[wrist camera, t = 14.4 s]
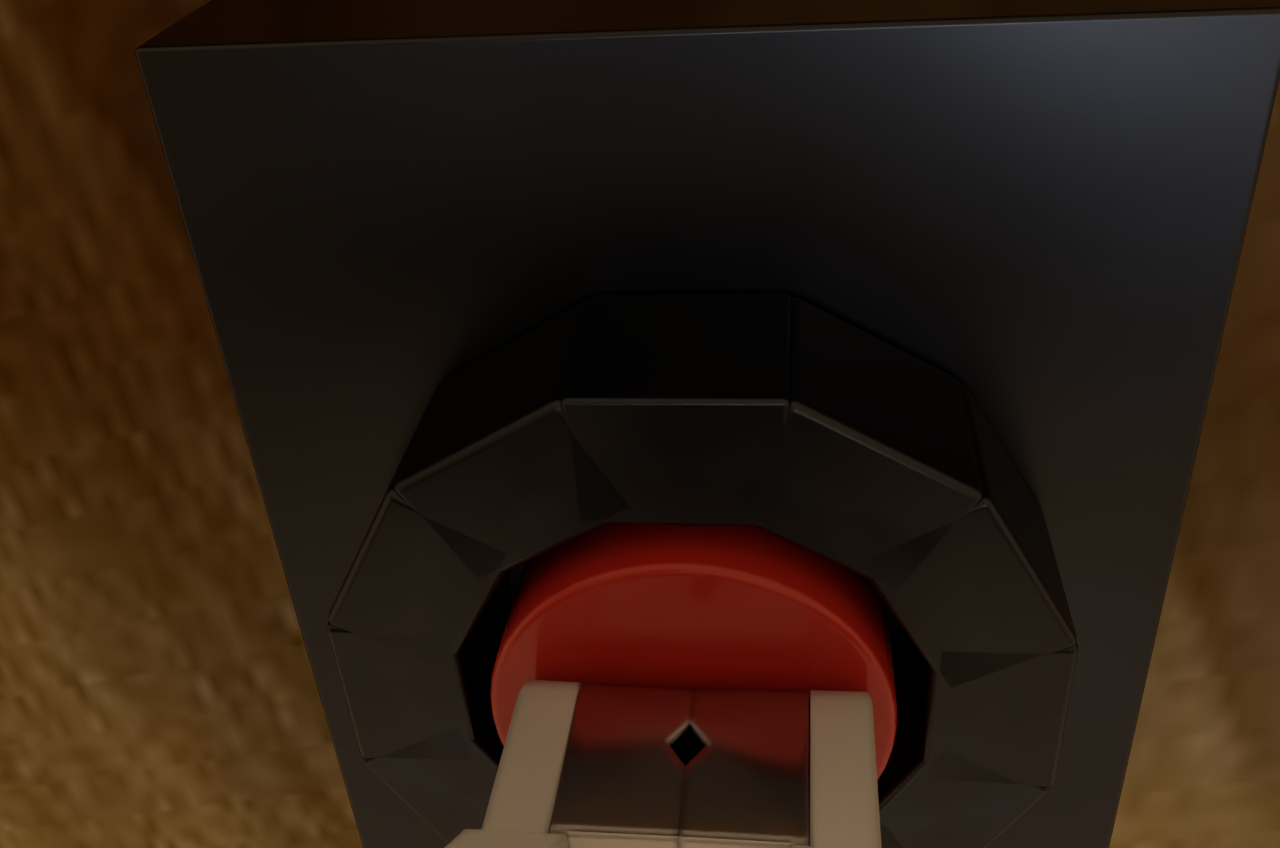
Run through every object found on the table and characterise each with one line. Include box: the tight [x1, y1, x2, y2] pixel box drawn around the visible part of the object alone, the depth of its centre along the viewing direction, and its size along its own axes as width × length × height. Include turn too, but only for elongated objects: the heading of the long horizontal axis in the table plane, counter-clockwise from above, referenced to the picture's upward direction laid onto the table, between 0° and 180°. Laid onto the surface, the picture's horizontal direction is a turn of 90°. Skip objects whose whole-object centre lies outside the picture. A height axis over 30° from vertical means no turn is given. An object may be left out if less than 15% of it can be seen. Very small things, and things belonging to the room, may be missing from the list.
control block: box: [135, 0, 1280, 848], centre depth 13 cm, size 11×9×4 cm
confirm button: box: [490, 523, 897, 781], centre depth 11 cm, size 4×4×2 cm
